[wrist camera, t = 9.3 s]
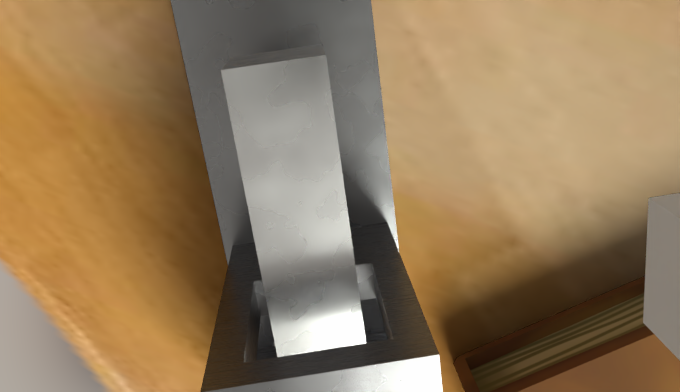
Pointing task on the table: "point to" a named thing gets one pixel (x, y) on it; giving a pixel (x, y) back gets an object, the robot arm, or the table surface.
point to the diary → (578, 352)
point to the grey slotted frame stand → (360, 189)
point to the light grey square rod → (296, 196)
